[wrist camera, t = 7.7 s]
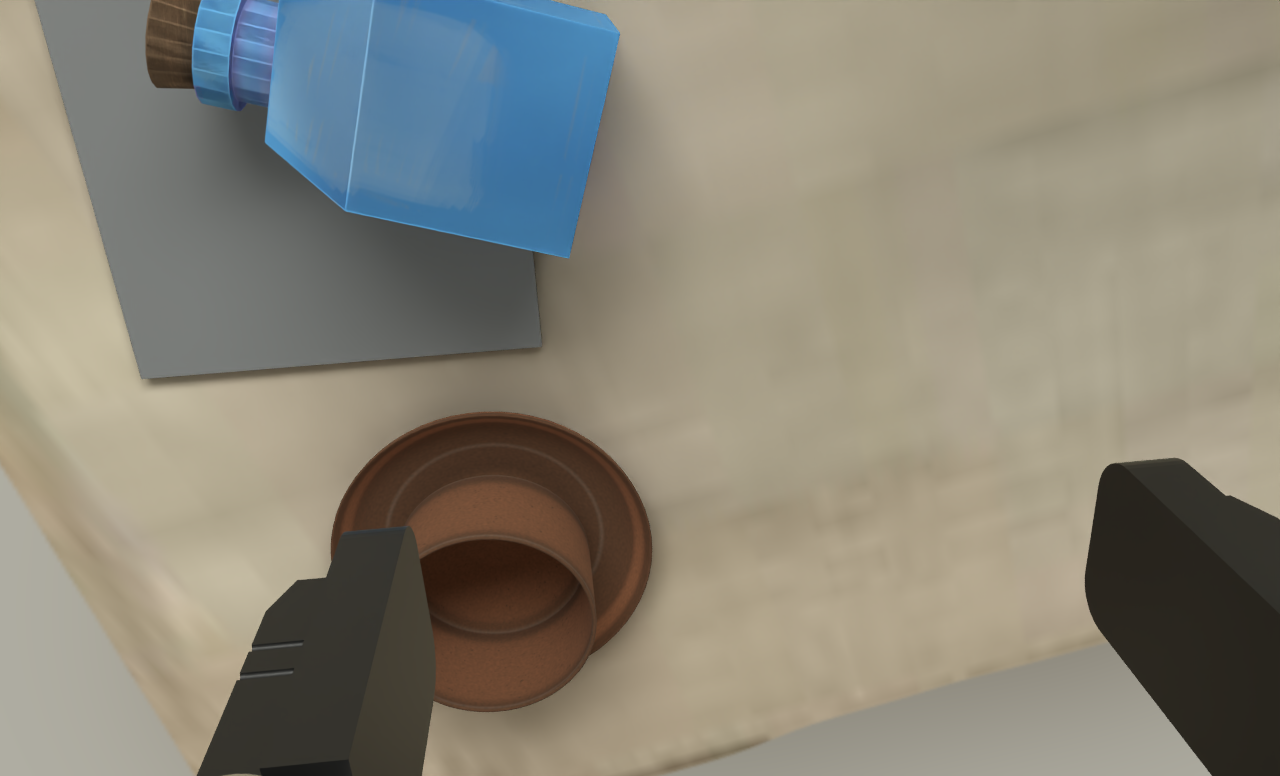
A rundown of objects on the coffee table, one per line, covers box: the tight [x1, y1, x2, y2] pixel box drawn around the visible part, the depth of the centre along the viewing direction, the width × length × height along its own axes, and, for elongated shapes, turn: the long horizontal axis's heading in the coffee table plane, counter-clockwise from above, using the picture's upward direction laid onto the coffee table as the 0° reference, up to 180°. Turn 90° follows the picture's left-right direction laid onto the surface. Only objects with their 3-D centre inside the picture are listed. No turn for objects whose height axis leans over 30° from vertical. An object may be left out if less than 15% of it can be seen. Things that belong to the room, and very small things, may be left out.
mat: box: [35, 0, 542, 379], centre depth 33 cm, size 14×14×1 cm
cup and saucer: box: [331, 412, 652, 712], centre depth 37 cm, size 12×12×6 cm
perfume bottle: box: [145, 0, 620, 258], centre depth 29 cm, size 6×6×12 cm
